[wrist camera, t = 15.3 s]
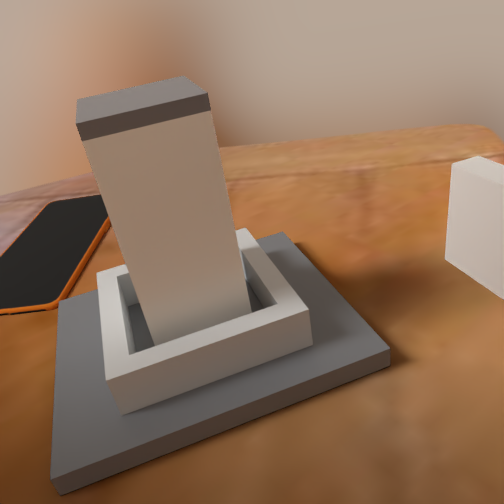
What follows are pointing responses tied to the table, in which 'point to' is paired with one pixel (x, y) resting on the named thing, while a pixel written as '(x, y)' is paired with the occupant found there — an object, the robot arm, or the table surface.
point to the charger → (167, 203)
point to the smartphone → (51, 254)
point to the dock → (197, 364)
